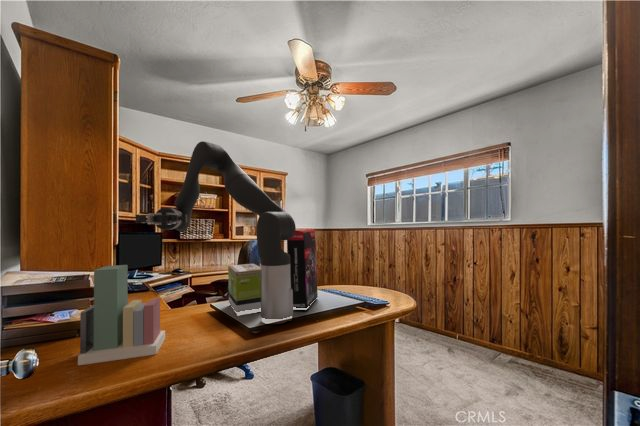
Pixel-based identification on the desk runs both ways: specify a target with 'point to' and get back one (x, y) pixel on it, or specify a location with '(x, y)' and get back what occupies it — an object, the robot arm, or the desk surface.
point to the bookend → (86, 330)
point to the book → (109, 305)
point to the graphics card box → (303, 267)
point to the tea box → (244, 287)
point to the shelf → (121, 352)
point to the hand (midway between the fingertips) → (157, 218)
